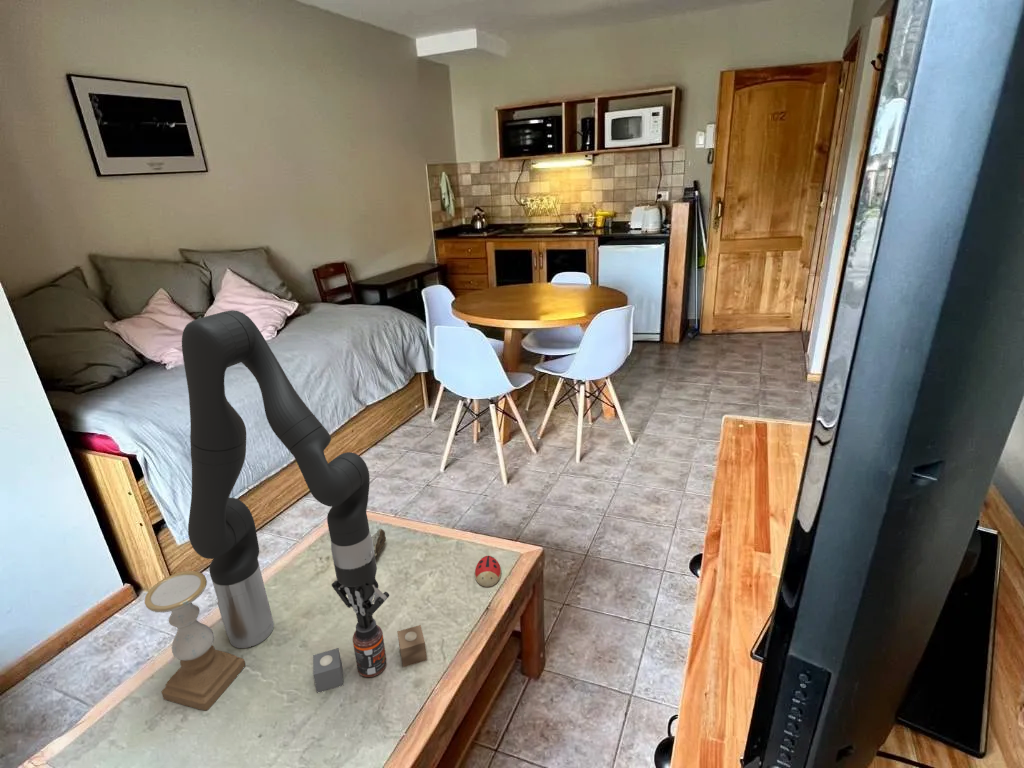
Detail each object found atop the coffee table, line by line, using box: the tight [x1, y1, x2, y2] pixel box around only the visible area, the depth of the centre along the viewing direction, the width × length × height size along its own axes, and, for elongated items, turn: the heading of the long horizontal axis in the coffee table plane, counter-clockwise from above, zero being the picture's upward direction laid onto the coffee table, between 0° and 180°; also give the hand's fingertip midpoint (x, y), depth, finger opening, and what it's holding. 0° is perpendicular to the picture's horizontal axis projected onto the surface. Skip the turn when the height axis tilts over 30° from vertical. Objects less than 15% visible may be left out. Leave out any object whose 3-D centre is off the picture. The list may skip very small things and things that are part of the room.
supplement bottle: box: [352, 618, 387, 678], centre depth 111 cm, size 6×6×11 cm
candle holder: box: [144, 570, 246, 712], centre depth 106 cm, size 11×11×24 cm
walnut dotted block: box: [396, 624, 428, 668], centre depth 114 cm, size 5×5×5 cm
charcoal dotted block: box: [312, 647, 344, 694], centre depth 109 cm, size 5×5×5 cm
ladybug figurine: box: [474, 555, 502, 588], centre depth 137 cm, size 7×10×4 cm
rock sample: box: [371, 528, 387, 558], centre depth 146 cm, size 10×8×9 cm
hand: (366, 624), depth 109 cm, fingers closed
